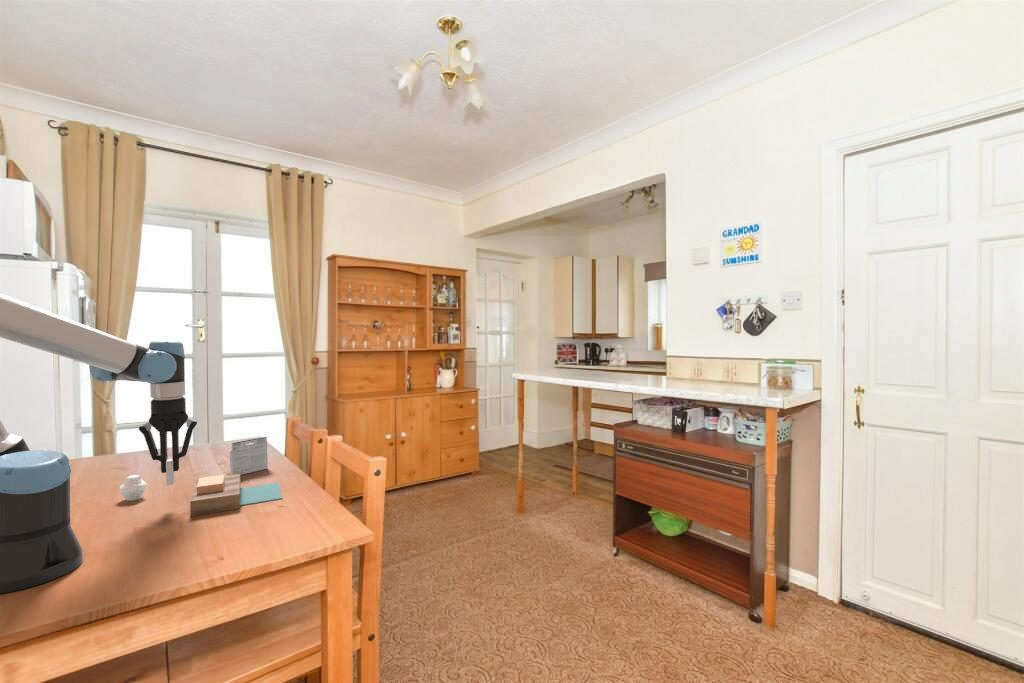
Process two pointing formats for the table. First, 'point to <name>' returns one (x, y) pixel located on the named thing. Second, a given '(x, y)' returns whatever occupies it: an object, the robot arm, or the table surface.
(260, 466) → the ink box
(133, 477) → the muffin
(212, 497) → the brown wooden slab
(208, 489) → the block
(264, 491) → the mat
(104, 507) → the table surface
